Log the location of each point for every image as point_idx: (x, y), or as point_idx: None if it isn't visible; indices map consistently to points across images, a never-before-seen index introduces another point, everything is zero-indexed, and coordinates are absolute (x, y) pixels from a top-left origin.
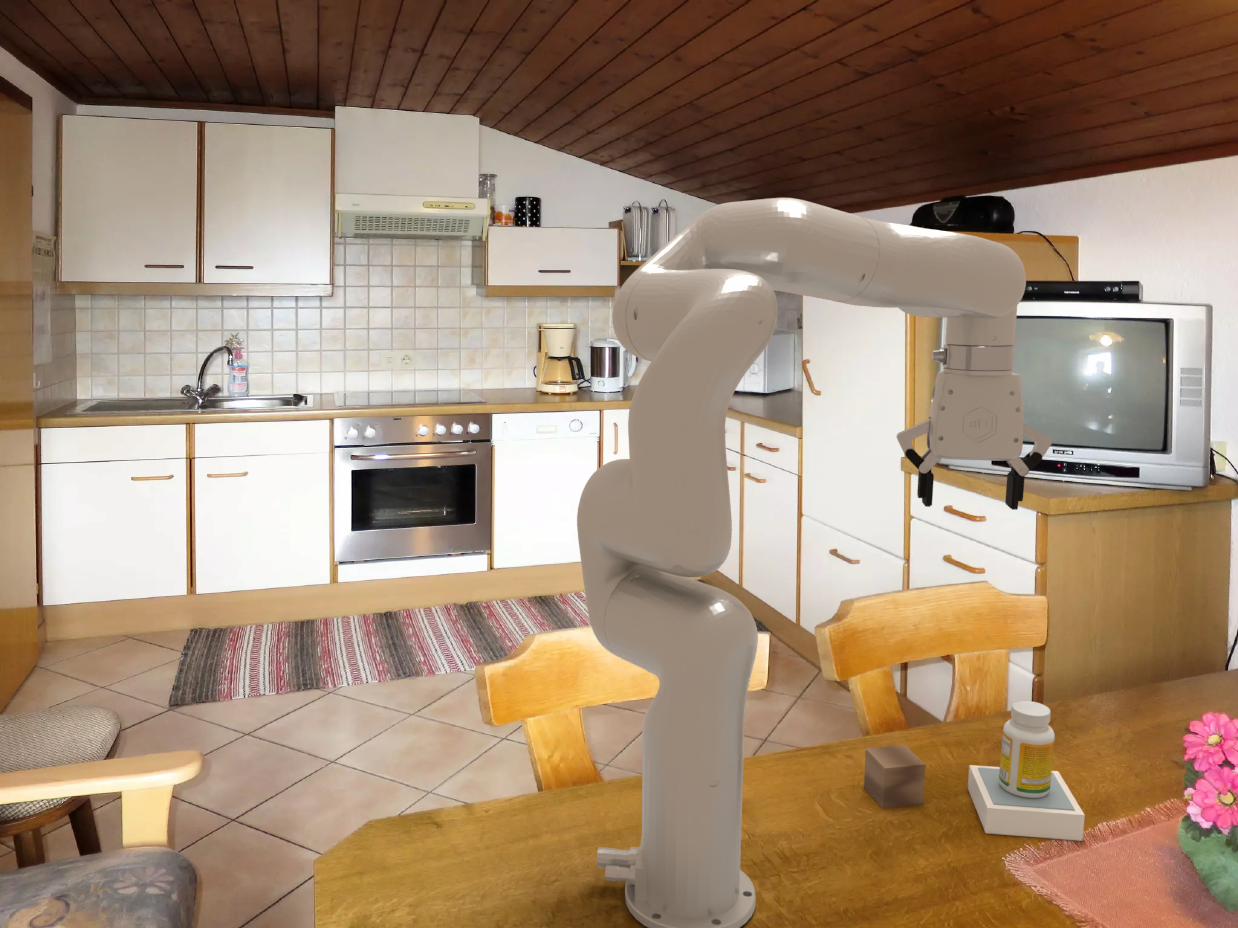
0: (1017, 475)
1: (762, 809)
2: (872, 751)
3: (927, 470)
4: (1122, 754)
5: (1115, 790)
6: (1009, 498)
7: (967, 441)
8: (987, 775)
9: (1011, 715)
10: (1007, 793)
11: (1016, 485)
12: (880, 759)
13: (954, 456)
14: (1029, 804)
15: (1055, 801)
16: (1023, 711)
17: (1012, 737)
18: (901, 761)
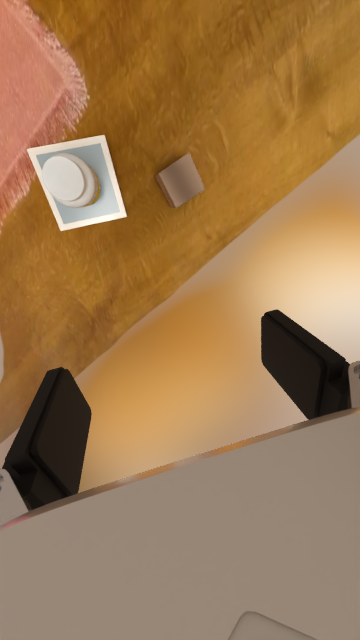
0: (21, 469)
1: (263, 122)
2: (200, 184)
3: (352, 374)
4: (32, 312)
5: (26, 253)
6: (72, 401)
7: (352, 591)
8: (111, 199)
9: (84, 176)
10: (92, 168)
11: (31, 422)
12: (193, 169)
13: (331, 424)
14: (72, 152)
15: None
16: (69, 164)
17: (83, 161)
18: (177, 172)
